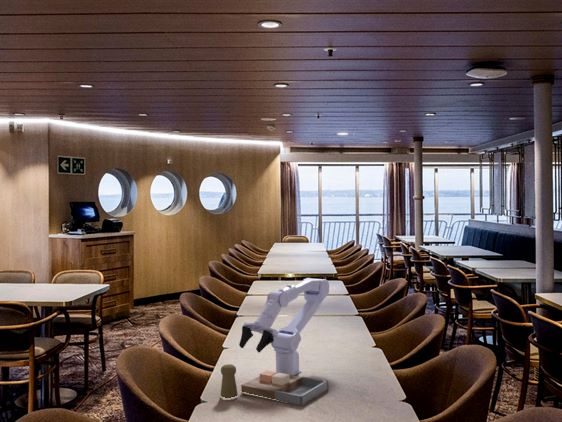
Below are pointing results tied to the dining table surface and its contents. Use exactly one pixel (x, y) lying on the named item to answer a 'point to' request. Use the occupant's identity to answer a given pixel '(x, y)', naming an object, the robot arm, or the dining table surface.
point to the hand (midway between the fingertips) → (249, 348)
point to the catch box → (303, 391)
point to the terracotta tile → (267, 376)
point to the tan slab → (270, 387)
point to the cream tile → (280, 378)
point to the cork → (228, 381)
